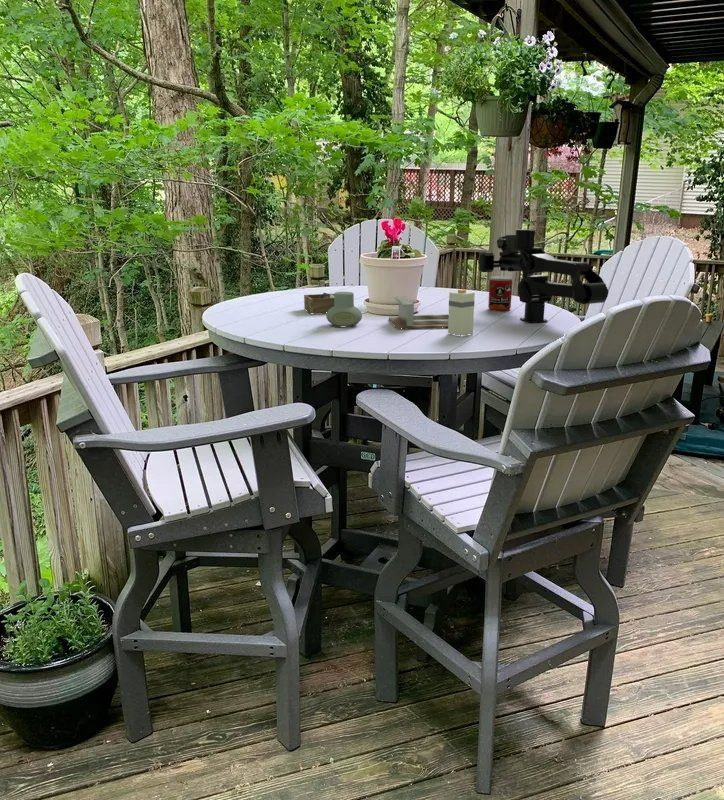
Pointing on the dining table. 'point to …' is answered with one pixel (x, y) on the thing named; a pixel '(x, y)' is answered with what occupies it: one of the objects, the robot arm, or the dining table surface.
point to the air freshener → (344, 310)
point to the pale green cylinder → (461, 312)
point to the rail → (406, 311)
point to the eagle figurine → (326, 296)
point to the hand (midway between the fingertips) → (489, 260)
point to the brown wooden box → (318, 303)
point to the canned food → (500, 293)
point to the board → (423, 321)
